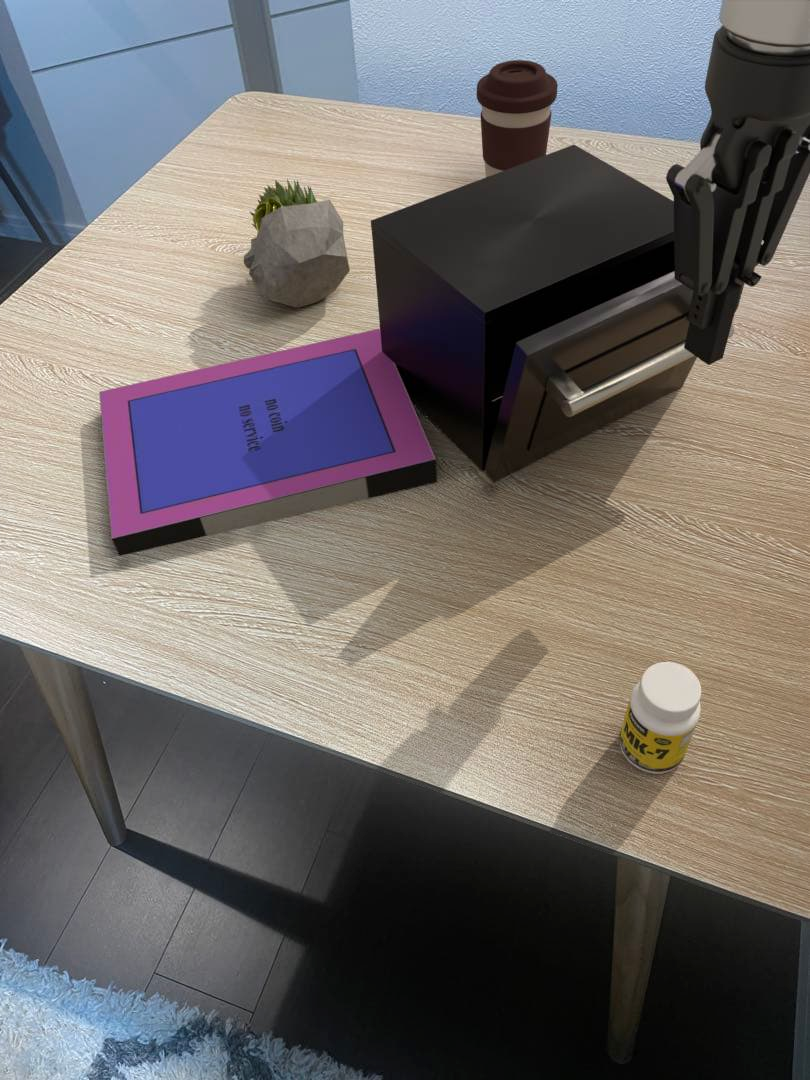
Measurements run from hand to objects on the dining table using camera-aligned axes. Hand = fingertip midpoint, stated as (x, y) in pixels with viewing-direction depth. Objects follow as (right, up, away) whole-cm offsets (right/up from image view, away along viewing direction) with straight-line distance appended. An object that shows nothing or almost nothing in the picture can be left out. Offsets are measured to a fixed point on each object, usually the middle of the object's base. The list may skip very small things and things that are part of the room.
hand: (703, 352), depth 72 cm
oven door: (-4, -5, +18) cm, 19 cm away
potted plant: (-37, +16, +38) cm, 55 cm away
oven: (-11, +3, +25) cm, 27 cm away
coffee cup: (-9, +33, +51) cm, 61 cm away
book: (-38, -5, +20) cm, 43 cm away
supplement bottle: (-5, -30, -4) cm, 31 cm away
